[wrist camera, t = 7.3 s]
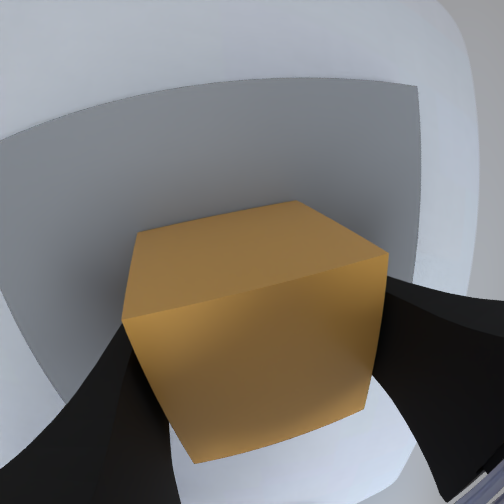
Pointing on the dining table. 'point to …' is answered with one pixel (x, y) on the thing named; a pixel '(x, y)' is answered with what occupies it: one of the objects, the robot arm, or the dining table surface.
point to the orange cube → (255, 324)
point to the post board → (190, 190)
